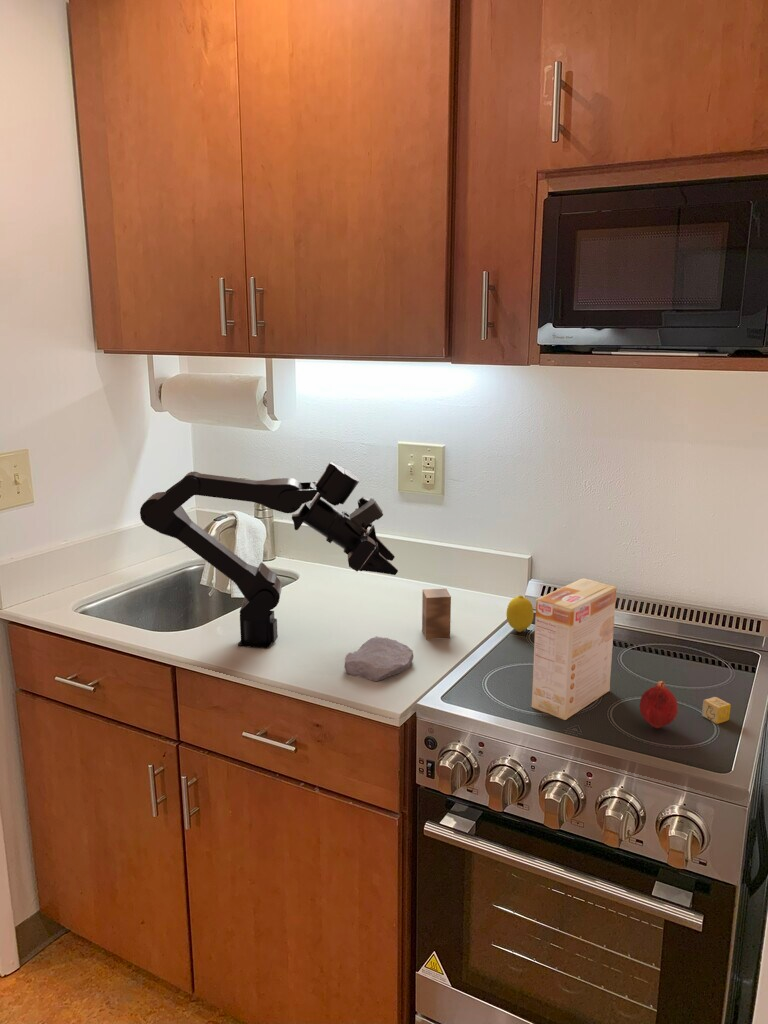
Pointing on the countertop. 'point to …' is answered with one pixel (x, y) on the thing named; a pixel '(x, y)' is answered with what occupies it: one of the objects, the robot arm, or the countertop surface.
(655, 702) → the onion
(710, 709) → the alphabet block
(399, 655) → the lilac crinkled slab
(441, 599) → the walnut block
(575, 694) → the coffeecake box
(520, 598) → the lemon
